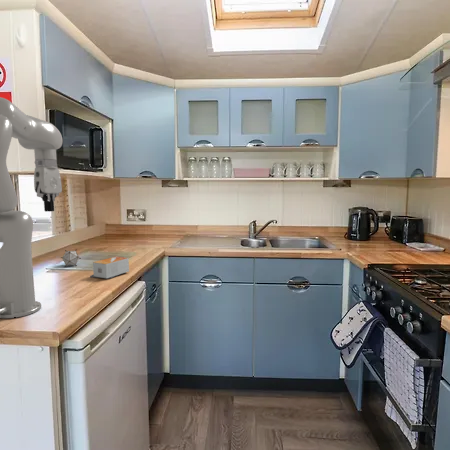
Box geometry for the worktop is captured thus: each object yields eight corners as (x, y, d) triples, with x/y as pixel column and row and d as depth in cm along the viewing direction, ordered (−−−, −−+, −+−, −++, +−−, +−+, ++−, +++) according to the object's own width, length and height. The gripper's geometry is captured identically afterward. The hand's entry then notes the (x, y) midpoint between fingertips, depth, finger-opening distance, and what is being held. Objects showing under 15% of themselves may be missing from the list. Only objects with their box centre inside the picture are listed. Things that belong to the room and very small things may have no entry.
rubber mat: (111, 278, 141) (111, 277, 141) (90, 277, 143) (90, 275, 143) (124, 271, 152) (124, 270, 152) (104, 270, 154) (104, 269, 154)
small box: (92, 261, 141) (115, 256, 153) (93, 276, 142) (116, 269, 154) (106, 263, 138) (128, 257, 149) (107, 278, 138) (129, 271, 150)
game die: (67, 273, 164) (56, 257, 165) (83, 264, 170) (72, 248, 170) (69, 268, 157) (57, 250, 158) (85, 259, 162) (74, 242, 163)
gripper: (39, 163, 123) (43, 212, 125) (67, 165, 137) (70, 210, 139) (22, 163, 124) (26, 212, 127) (51, 165, 139) (54, 209, 141)
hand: (49, 211), depth 133 cm, fingers closed
